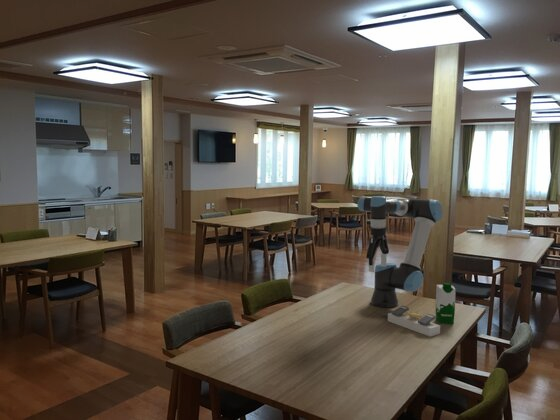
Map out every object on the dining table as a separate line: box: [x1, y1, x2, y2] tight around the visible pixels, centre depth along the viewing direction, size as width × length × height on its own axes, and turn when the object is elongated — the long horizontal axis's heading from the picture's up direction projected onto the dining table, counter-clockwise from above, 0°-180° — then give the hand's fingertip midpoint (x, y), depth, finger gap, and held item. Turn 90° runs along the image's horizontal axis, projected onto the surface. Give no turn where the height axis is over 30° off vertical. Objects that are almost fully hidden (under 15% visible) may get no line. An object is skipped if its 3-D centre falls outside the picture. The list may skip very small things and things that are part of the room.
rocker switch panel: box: [379, 311, 441, 338], centre depth 231 cm, size 7×34×5 cm, turn 34°
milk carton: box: [435, 282, 456, 325], centre depth 236 cm, size 9×9×20 cm
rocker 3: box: [418, 313, 437, 325], centre depth 220 cm, size 8×4×1 cm, turn 124°
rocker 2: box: [404, 311, 423, 319], centre depth 227 cm, size 8×4×1 cm, turn 124°
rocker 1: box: [391, 305, 410, 316], centre depth 234 cm, size 8×4×1 cm, turn 124°
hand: (377, 269), depth 235 cm, fingers open, 13 cm apart
